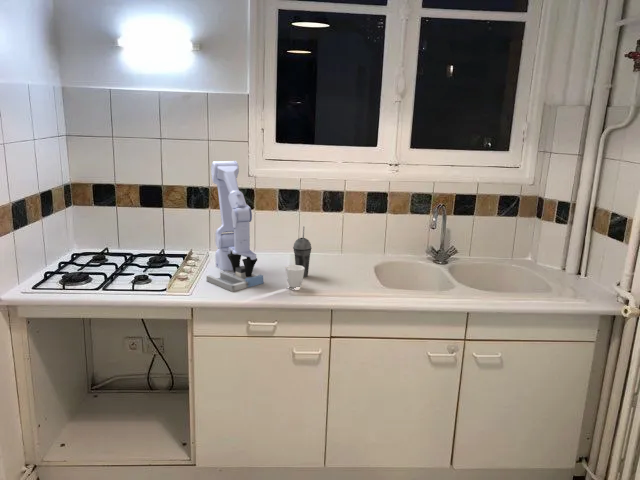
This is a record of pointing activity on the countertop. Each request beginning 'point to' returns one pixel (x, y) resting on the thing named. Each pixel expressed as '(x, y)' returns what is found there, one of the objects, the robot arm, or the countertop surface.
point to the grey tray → (235, 281)
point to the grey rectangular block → (241, 272)
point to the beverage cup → (302, 253)
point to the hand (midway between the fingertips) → (242, 274)
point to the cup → (294, 275)
